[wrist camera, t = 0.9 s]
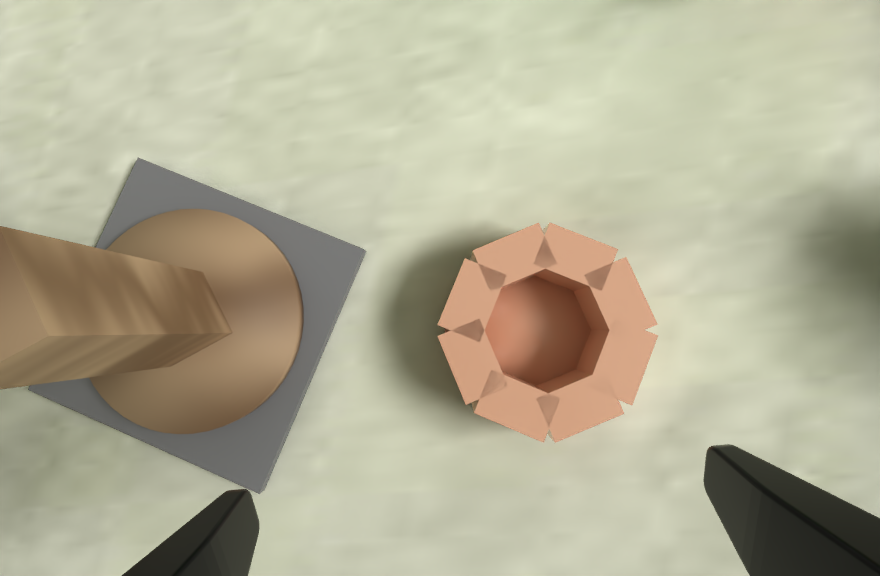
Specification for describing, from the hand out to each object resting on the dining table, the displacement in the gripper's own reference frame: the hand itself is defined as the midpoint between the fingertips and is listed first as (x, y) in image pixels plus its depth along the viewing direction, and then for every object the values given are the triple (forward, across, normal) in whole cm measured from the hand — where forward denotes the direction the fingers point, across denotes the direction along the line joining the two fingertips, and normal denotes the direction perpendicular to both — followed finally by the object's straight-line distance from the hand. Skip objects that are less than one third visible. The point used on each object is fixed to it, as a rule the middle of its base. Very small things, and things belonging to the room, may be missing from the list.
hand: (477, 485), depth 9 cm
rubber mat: (+15, +13, +1) cm, 20 cm away
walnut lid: (+14, +13, +1) cm, 19 cm away
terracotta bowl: (+14, -4, +3) cm, 15 cm away
